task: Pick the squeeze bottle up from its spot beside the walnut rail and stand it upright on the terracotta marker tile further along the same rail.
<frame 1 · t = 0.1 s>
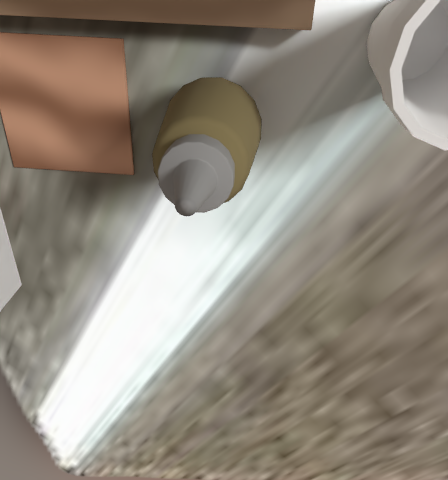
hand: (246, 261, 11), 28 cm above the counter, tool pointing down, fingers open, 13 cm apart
rail: (140, 112, 37), on the counter
foam cup: (406, 39, 33), on the counter
squeeze bottle: (217, 116, 37), on the counter
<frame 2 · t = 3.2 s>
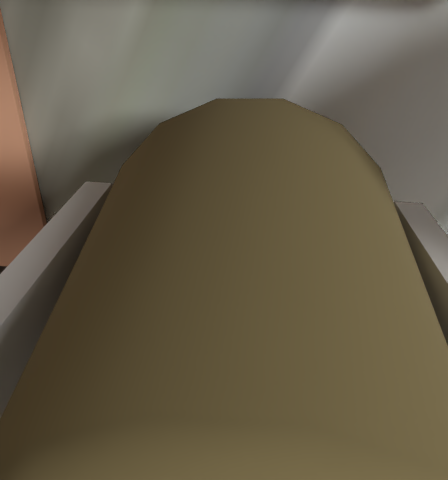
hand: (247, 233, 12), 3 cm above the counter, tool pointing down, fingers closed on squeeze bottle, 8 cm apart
rail: (62, 176, 15), on the counter
squeeze bottle: (250, 186, 15), on the counter, touching gripper
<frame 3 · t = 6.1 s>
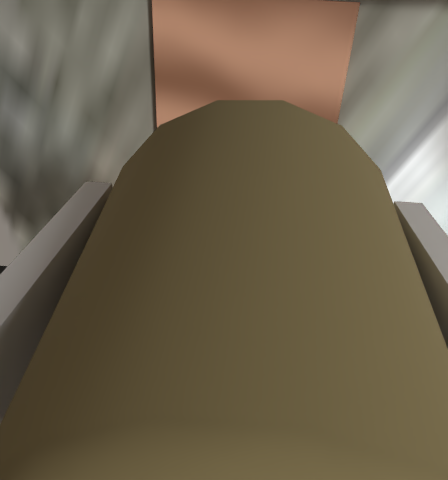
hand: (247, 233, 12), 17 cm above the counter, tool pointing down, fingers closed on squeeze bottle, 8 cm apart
rail: (354, 109, 27), on the counter
squeeze bottle: (250, 187, 15), point 14 cm above the counter, touching gripper
when the fingers open (5 cm above the counter, at t = 8.9 s): squeeze bottle drops 1 cm, resting on rail.
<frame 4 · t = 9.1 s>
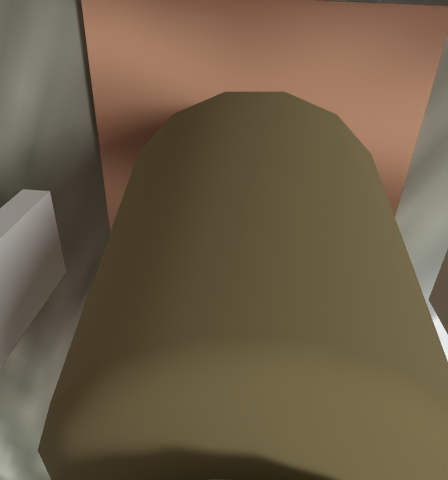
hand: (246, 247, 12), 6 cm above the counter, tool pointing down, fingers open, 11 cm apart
rail: (427, 182, 16), on the counter
squeeze bottle: (251, 172, 16), resting on rail
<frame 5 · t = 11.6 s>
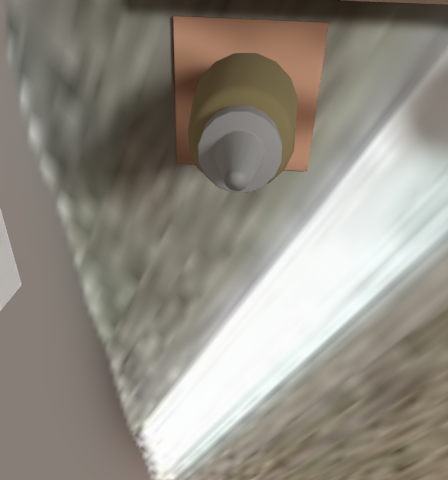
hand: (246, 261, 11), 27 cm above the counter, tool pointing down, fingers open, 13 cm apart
rail: (328, 103, 34), on the counter
squeeze bottle: (246, 99, 35), resting on rail
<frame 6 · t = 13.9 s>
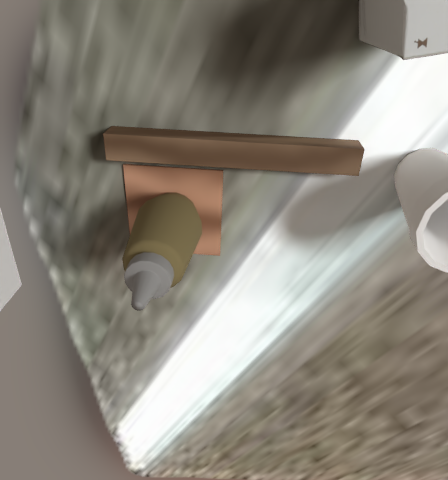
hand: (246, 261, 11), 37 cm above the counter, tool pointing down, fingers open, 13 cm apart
rail: (229, 215, 52), on the counter
foam cup: (421, 173, 47), on the counter
squeeze bottle: (174, 211, 52), resting on rail
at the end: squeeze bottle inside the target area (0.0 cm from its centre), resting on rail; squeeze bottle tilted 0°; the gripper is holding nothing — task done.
